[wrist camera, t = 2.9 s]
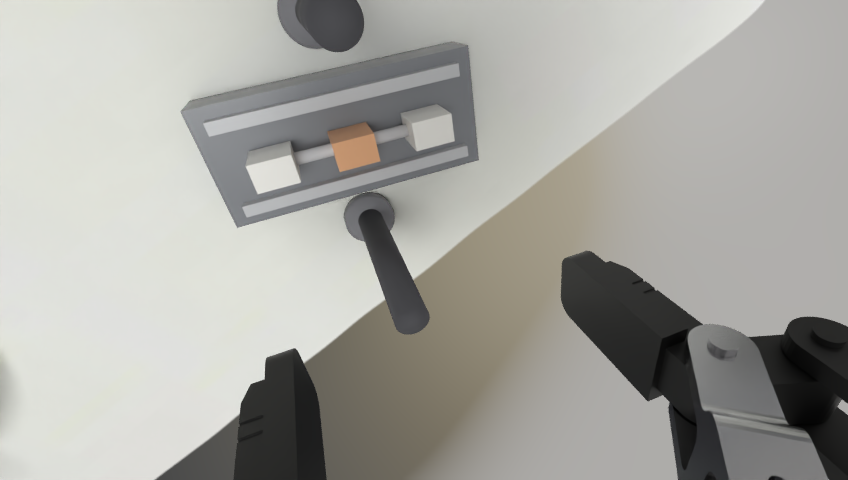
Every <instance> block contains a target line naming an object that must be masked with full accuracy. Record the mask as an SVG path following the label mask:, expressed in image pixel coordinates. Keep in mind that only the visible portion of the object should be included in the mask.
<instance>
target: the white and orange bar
mask: <svg viewBox="0 0 848 480" xmlns="http://www.w3.org/2000/svg"><path fill="white" fill-rule="evenodd" d="M401 118H402V124H403V125H400V126H396V127H392V128H388V129H384V130H380V131H376V132H373V131H372V130H371V129H370V127H369V126H368V124H367V123H366V122H363V123H359V124H355V125H351V126H347V127H343V128H339V129H335V130H331V131H327V133H328V137H329V140H330V144H326V145H322V146H318V147H314V148H310V149H306V150H302V151H298V152H294V151H293V148H292V145H291V142H290V141H288V142H284V143H280V144H276V145H272V146H268V147H264V148H260V149H256V150H252V151H249V152H248V157H247V162H246V168H247V171H248V173H249V175H250V178H251V180H252V182H253V185H254V187H255V189H256V191H257V194H261V193H264V192H268V191H272V190H276V189H279V188H283V187H287V186H290V185H294V184H298V183H301V177H300V169H299V165H301V164H304V163H308V162H312V161H316V160H320V159H323V158H327V157H331V156H334V157H335V160H336V163H337V165H338V168H339V171H340V172H342V171H346V170H350V169H353V168H357V167H361V166H365V165H368V164H372V163H376V162H379V161H380V157H379V153H378V149H377V144H381V143H384V142H388V141H392V140H396V139H400V138H404V137H405V139H406V140H407V141H408V142H409V143H410V145H411V146H412V147H413V148H414V149H415V150H416V151H420V150H424V149H428V148H431V147H435V146H439V145H442V144H446V143H450V142H454V141H455V139H454V131H453V122H452V114H451V113H450V112H448V111H447V110H445V109H444V108H442V107H441V106H439V105H438V104H435V105H431V106H427V107H423V108H419V109H415V110H411V111H407V112H403V113H401Z"/></svg>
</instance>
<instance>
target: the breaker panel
mask: <svg viewBox="0 0 848 480" xmlns="http://www.w3.org/2000/svg"><path fill="white" fill-rule="evenodd" d="M435 104H438V105H439V106H441V107H442V108H444V109H445V110H447V111H448V112H450V113H451V114H452V122H453V131H454V139H455V141H454V142H450V143H446V144H442V145H439V146H435V147H431V148H428V149H424V150H420V151H416V150H415V149H414V148H413V147H412V146H411V145H410V143H409V142H408V141H407V140H406V139H405V137H404V138H400V139H396V140H392V141H388V142H384V143H381V144H377V149H378V153H379V157H380V161H379V162H376V163H372V164H368V165H365V166H361V167H357V168H353V169H350V170H346V171H342V172H340V171H339V168H338V165H337V163H336V160H335V157H334V156H331V157H327V158H323V159H320V160H316V161H312V162H308V163H304V164H301V165H299V169H300V177H301V183H298V184H294V185H290V186H287V187H283V188H279V189H276V190H272V191H268V192H264V193H261V194H257V191H256V189H255V187H254V185H253V182H252V180H251V178H250V175H249V173H248V171H247V168H246V162H247V157H248V152H249V151H252V150H256V149H260V148H264V147H268V146H272V145H276V144H280V143H284V142H288V141H290V142H291V145H292V148H293V151H294V152H298V151H302V150H306V149H310V148H314V147H318V146H322V145H326V144H330V140H329V137H328V133H327V131H331V130H335V129H339V128H343V127H347V126H351V125H355V124H359V123H363V122H366V123H367V124H368V126H369V127H370V129H371V130H372V131H373V132H376V131H380V130H384V129H388V128H392V127H396V126H400V125H403V124H402V118H401V113H403V112H407V111H411V110H415V109H419V108H423V107H427V106H431V105H435ZM180 112H181V114H182V116H183V118H184V120H185V122H186V124H187V126H188V128H189V130H190V132H191V134H192V136H193V138H194V140H195V142H196V144H197V147H198V149H199V151H200V153H201V155H202V157H203V159H204V161H205V163H206V165H207V167H208V169H209V171H210V173H211V175H212V177H213V179H214V181H215V183H216V185H217V187H218V189H219V191H220V194H221V196H222V198H223V200H224V202H225V204H226V206H227V208H228V210H229V212H230V214H231V216H232V218H233V220H234V222H235V224H236V226H237V228H238V227H242V226H245V225H249V224H252V223H256V222H259V221H263V220H267V219H270V218H274V217H277V216H281V215H284V214H288V213H291V212H295V211H299V210H302V209H306V208H309V207H313V206H316V205H320V204H323V203H327V202H331V201H334V200H338V199H341V198H345V197H348V196H352V195H356V194H359V193H363V192H366V191H370V190H373V189H377V188H380V187H384V186H388V185H391V184H395V183H398V182H402V181H405V180H409V179H413V178H416V177H420V176H423V175H427V174H430V173H434V172H437V171H441V170H445V169H448V168H452V167H455V166H459V165H462V164H466V163H470V162H473V161H477V160H479V159H478V148H477V137H476V127H475V116H474V105H473V94H472V83H471V72H470V61H469V50H468V46H467V45H463V44H459V43H455V42H449V43H444V44H440V45H435V46H431V47H427V48H422V49H418V50H413V51H409V52H404V53H400V54H396V55H391V56H387V57H382V58H378V59H373V60H369V61H365V62H360V63H356V64H351V65H347V66H343V67H338V68H334V69H329V70H325V71H320V72H316V73H312V74H307V75H303V76H298V77H294V78H289V79H285V80H281V81H276V82H272V83H267V84H263V85H258V86H254V87H250V88H245V89H241V90H236V91H232V92H227V93H223V94H219V95H214V96H210V97H205V98H201V99H196V100H192V101H189V103H188V104H187V105H186V106H185V107H184V108H183V109H182V110H181V111H180Z"/></svg>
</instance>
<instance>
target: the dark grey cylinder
mask: <svg viewBox="0 0 848 480" xmlns="http://www.w3.org/2000/svg"><path fill="white" fill-rule="evenodd" d="M277 7H278V15H279V19H280V22H281V24H282V26H283V28H284V30H285V31H286V32H287V34H288V35H289V36H290V37H291V38H292V39H293V40H294V41H296V42H297V43H299V44H300V45H302V46H305V47H308V48H325V49H327V50H329V51H333V52H343V51H347V50H349V49H351V48H352V47H354V46H355V45H356V44H357V43H358V41H359V40H360V38H361V36H362V33H363V28H364V18H363V13H362V10H361V8H360V6H359V4H358V2H357V1H356V0H278V5H277Z"/></svg>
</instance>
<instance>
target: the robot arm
mask: <svg viewBox="0 0 848 480" xmlns="http://www.w3.org/2000/svg"><path fill="white" fill-rule="evenodd" d="M561 283H562V284H561V301H562V304H563V307H564V309H565V311H566V313H567V314H568V316H569V317H570V318H571V319H572V320H573V321H574V322H575V323H576V324H577V326H578V327H579V328H580V329H581V330H582V331H583V332H584V333H585V334H586V335H587V336H588V337H589V338H590V340H591V341H592V342H593V343H594V344H595V345H596V346H597V347H598V348H599V349H600V350H601V351H602V353H603V354H604V355H605V356H606V357H607V358H608V359H609V360H610V361H611V362H612V363H613V364H614V365H615V367H616V368H618V370H619V371H620V372H621V373H622V374H623V375H624V376H625V377H626V378H627V379H628V381H629V382H630V383H631V384H632V385H633V386H634V387H635V388H636V389H637V390H638V391H639V392H640V394H641V395H642V396H643V397H644V398H645V399H646V400H647V401H650V400H652V399H655V398H657V397H659V396H661V395H664V397H666V399H667V400H668V401H669V402H670V403H669V407H668V408H669V418H670V425H671V431H672V438H673V446H674V453H675V460H676V467H677V475H678V480H828V479H829V480H848V415H847V414H845V413H844V412H843V411H842V410H840V409H839V408H838V407H837V406H838V405H839V403H840V401H841V400H844V401H845V402H846V403H848V327H847V326H845V325H843V324H840V323H838V322H835V321H831V320H828V319H824V318H818V317H800V318H797V319H794V320H792V321H791V322H790V323H789V325H788V327H787V329H786V331H785V333H784V335H772V336H758V337H747V336H745V335H744V334H742V333H741V332H739V331H736V330H734V329H732V328H729V327H726V326H721V325H714V324H705V325H703V324H702V323H700V322H699V321H697V320H696V319H695V318H694V317H692V316H691V315H689V314H688V313H687V312H686V311H684V310H683V309H682V308H680V307H679V306H678V305H676V304H675V303H674V302H672V301H671V300H670V299H668V298H667V297H666V296H665V295H663V294H662V293H660V292H659V291H658V290H657V291H655V289H654V287H652V286H651V285H650V284H649V283H647V282H646V281H645V282H644V281H643V279H642V278H641V277H639V276H638V275H637V274H635V273H634V272H633V271H631V270H630V269H628V268H626V267H624V266H621V265H619V264H616V263H613V262H611V261H609V262H604V261H603V260H602V259H600V258H599V257H598V256H596V255H595V254H594V253H592V252H590V251H585V252H582V253H579V254H576V255H573V256H570V257H567V258H565V259H564V260H563V262H562V279H561ZM239 424H240V427H239V429H238V443H237V450H236V459H235V470H234V480H327V479H326V469H325V459H324V448H323V439H322V429H321V418H320V408H319V401H318V397H317V393H316V390H315V387H314V384H313V382H312V380H311V378H310V376H309V374H308V372H307V369H306V367H305V365H304V363H303V361H302V359H301V357H300V355H299V353H298V351H297V350H296V349H295V348H294V349H291V350H288V351H285V352H282V353H279V354H276V355H273V356H270V357H267V358H266V362H265V380H262V381H259V382H256V383H253V384H251V385H250V387H249V389H248V391H247V393H246V395H245V397H244V399H243V401H242V403H241V408H240V419H239Z"/></svg>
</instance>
